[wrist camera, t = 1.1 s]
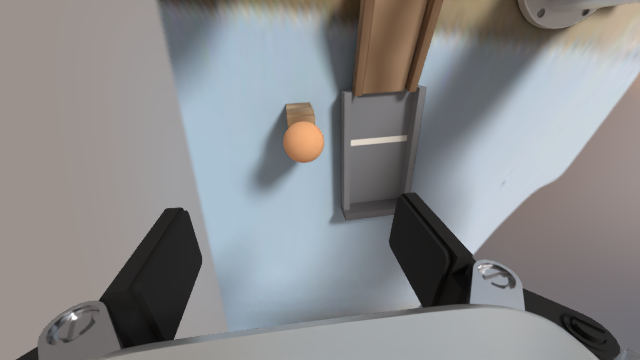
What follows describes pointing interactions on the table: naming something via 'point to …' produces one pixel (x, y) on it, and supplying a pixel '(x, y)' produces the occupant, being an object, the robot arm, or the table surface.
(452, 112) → the table surface
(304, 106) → the wooden upright block
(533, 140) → the table surface
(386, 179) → the lane
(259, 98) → the table surface
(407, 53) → the ramp
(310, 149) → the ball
